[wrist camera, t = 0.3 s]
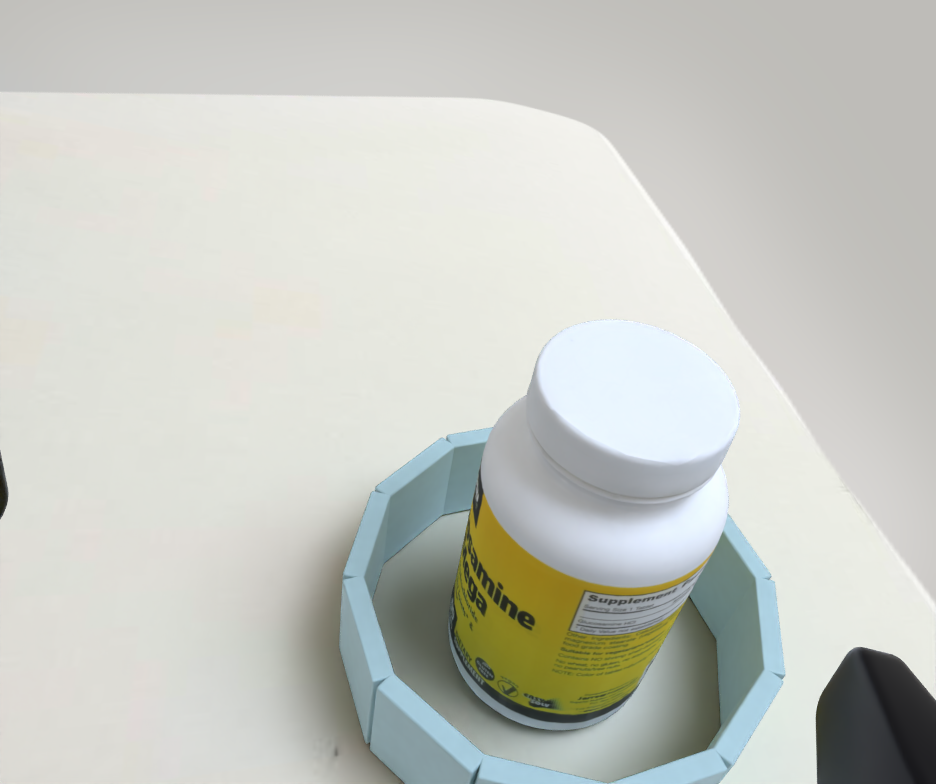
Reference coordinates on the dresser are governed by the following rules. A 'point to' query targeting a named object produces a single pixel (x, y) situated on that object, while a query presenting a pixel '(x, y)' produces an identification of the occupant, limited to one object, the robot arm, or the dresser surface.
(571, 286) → the dresser surface
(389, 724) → the light blue ring
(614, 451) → the pill bottle
